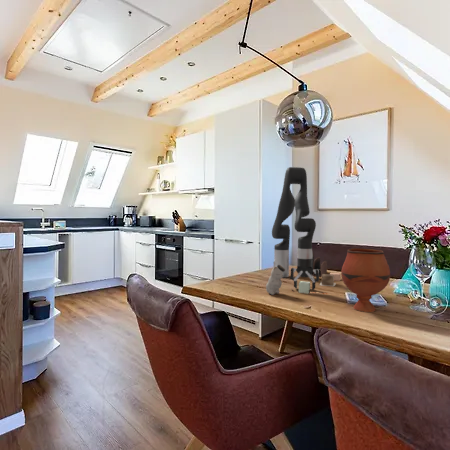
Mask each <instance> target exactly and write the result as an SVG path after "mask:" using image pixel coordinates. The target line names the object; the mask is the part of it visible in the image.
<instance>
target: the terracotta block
mask: <svg viewBox="0 0 450 450" xmlns="http://www.w3.org/2000/svg"><path fill="white" fill-rule="evenodd" d="M329 274H332V275H334V281H337V282H338V281H341V279H342V276H341V273H339V272H330V273H329Z"/></svg>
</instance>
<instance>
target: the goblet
mask: <svg viewBox="0 0 450 450" xmlns="http://www.w3.org/2000/svg"><path fill="white" fill-rule="evenodd" d="M388 263H389V262H388V261H387V259H386V256H385V252H384V251H383V250H381V249H372V248H359V247H358V248H349V249H347V253H346V257H345V260H344V262H343V265H342V266H341V271H340V274H341V279H342V282H343V284H344V285H345V287H347V289H348V290H349V291H351V293H353V294H355V295H356V299H357V301H356V303H355V304H354V305H353V308H352V309H354V310H355V309H356V311H358V310H359V312H362V311H364V312H365V313H373V312H375V311H376V308H375V305H374V304H373V303H372V302H371V301H370V300H371V299H372V296H374V295H376V294H379V293H380V292H382V291H383V290H384V289H385V288H387V286H388V284H389V282H390V279H391V270H390V266H389V264H388Z"/></svg>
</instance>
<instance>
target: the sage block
mask: <svg viewBox="0 0 450 450" xmlns="http://www.w3.org/2000/svg"><path fill="white" fill-rule="evenodd" d="M310 292H311V282H310V281H303V280H302V281H299V282H298V293H299V294H310Z"/></svg>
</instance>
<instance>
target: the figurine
mask: <svg viewBox="0 0 450 450" xmlns="http://www.w3.org/2000/svg"><path fill="white" fill-rule="evenodd" d="M284 271H285V269H284V268H283V267H282V266H281V265H277V267H274V268H272V269H271V271H270V276H269V278H268V279H267V280H268V282H267V283H266V284H265V289H266V292H267V293H268V294H270V295H272V296H275V294H277V295H278V294H280V289H281V287H282V278H284V277H283V272H284Z"/></svg>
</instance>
